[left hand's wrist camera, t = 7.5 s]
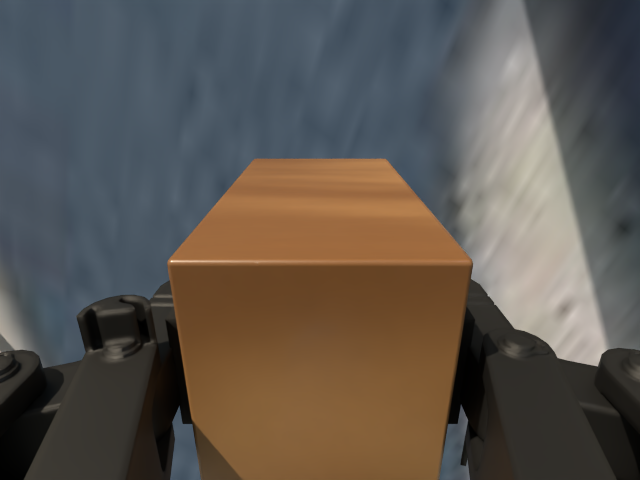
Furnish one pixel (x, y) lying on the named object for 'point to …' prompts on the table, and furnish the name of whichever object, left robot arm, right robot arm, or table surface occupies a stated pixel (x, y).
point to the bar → (320, 325)
